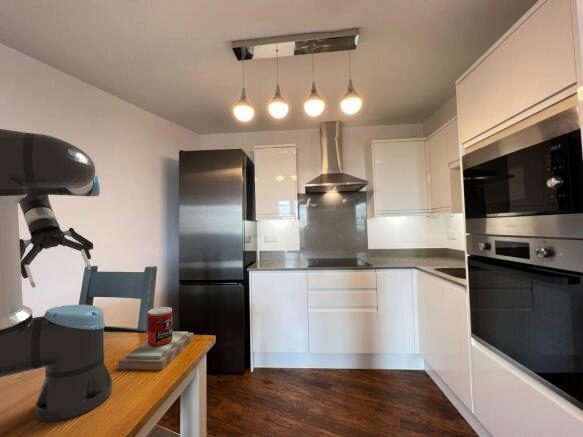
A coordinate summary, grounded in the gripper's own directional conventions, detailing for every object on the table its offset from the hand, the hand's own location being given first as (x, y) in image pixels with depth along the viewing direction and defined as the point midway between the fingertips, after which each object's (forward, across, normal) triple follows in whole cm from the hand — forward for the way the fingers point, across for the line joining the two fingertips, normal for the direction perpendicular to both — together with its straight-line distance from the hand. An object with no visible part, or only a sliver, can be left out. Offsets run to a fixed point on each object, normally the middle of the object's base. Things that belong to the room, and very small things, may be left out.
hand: (62, 275), depth 83 cm
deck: (+32, -17, -16) cm, 39 cm away
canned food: (+29, -18, -14) cm, 37 cm away
